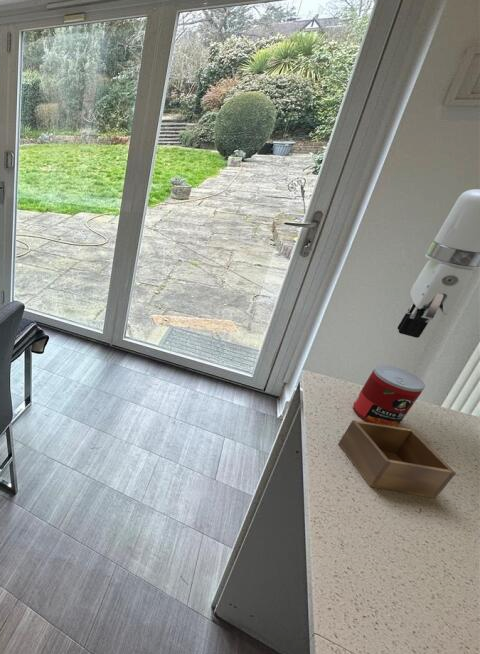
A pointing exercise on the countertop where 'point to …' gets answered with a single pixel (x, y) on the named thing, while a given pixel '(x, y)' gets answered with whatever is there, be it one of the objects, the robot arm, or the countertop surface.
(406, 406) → the canned food
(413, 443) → the box
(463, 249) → the robot arm
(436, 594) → the countertop surface
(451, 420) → the countertop surface
